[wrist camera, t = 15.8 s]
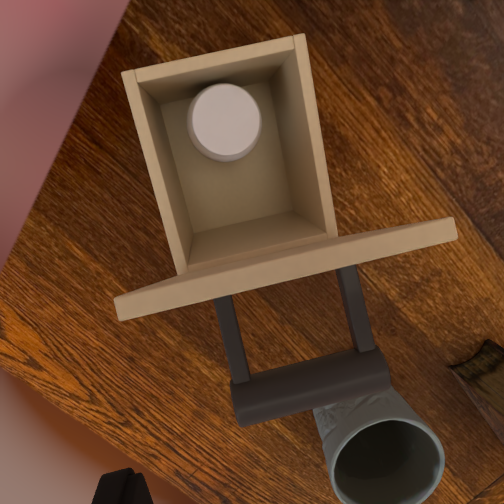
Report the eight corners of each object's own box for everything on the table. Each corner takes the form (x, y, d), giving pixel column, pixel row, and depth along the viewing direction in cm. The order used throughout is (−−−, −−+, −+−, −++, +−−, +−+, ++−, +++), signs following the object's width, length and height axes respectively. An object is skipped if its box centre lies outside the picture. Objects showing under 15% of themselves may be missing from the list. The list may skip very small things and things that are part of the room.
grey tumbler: (385, 422, 47) (442, 509, 36) (301, 432, 46) (332, 526, 35) (386, 344, 45) (448, 412, 33) (298, 354, 44) (330, 427, 32)
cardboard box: (149, 98, 36) (120, 72, 24) (274, 71, 36) (305, 32, 25) (188, 241, 39) (178, 279, 28) (300, 214, 40) (339, 240, 28)
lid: (112, 298, 13) (156, 482, 13) (454, 215, 13) (496, 392, 13) (176, 275, 27) (197, 362, 27) (340, 236, 28) (360, 321, 28)
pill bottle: (201, 168, 37) (198, 173, 27) (181, 105, 36) (170, 88, 26) (259, 150, 37) (277, 149, 28) (242, 87, 36) (254, 63, 26)
